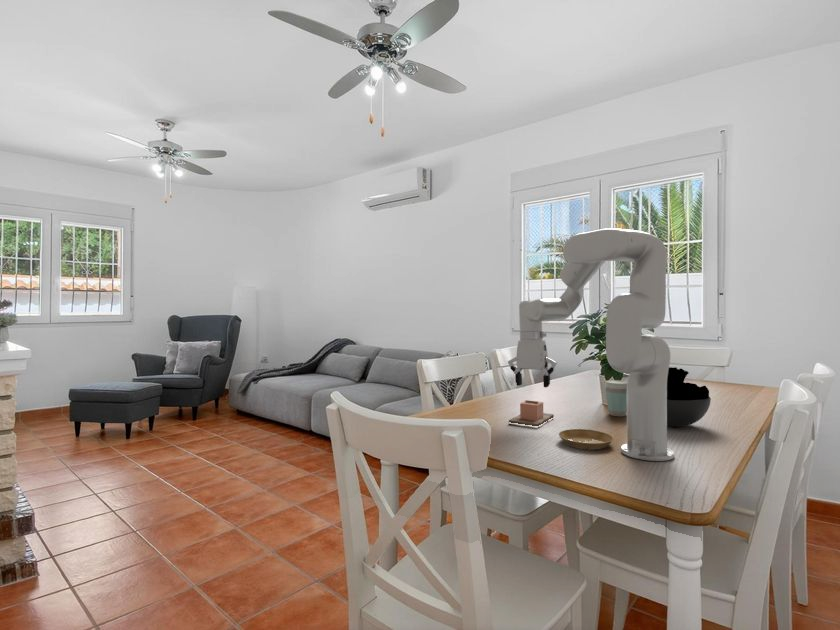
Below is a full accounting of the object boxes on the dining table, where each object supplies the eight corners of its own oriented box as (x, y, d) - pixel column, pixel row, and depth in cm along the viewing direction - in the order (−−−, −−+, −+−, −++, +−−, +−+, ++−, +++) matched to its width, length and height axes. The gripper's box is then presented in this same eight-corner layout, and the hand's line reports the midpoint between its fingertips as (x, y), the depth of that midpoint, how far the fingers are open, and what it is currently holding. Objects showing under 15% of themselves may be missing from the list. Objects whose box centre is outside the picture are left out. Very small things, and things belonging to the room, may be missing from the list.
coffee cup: (634, 417, 161) (634, 383, 161) (610, 417, 161) (609, 383, 161) (624, 411, 170) (623, 379, 169) (601, 412, 170) (600, 380, 170)
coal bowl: (691, 418, 158) (691, 364, 158) (724, 434, 138) (723, 372, 138) (631, 418, 160) (631, 364, 160) (655, 433, 140) (655, 372, 140)
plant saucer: (618, 442, 132) (618, 433, 132) (606, 456, 120) (606, 446, 120) (567, 435, 140) (567, 426, 140) (551, 447, 128) (551, 438, 128)
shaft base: (537, 428, 147) (537, 413, 147) (508, 424, 153) (508, 409, 153) (553, 418, 161) (553, 404, 161) (526, 415, 166) (526, 401, 166)
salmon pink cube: (537, 420, 153) (537, 403, 153) (520, 417, 156) (520, 401, 156) (543, 416, 158) (543, 400, 157) (526, 414, 161) (526, 398, 161)
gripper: (559, 335, 155) (561, 386, 154) (512, 335, 164) (513, 383, 164) (552, 336, 148) (553, 389, 148) (503, 336, 158) (504, 386, 158)
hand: (532, 386), depth 156 cm, fingers open, 9 cm apart
